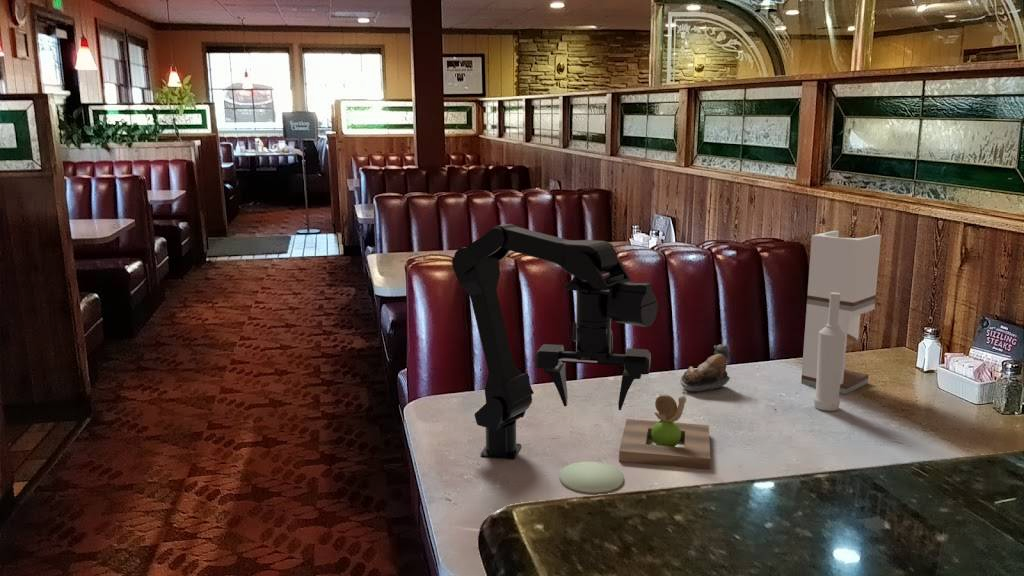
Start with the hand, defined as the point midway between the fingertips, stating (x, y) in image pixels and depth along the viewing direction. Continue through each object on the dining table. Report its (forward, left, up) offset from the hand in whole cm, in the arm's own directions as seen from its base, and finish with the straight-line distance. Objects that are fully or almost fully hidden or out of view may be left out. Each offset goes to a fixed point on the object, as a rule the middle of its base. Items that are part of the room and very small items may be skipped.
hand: (592, 407), depth 132 cm
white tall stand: (+62, -49, -13) cm, 80 cm away
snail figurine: (+16, -12, -13) cm, 24 cm away
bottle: (+45, -45, -13) cm, 65 cm away
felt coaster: (0, 0, -13) cm, 13 cm away
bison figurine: (+52, -19, -13) cm, 57 cm away
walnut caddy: (+16, -12, -13) cm, 24 cm away
